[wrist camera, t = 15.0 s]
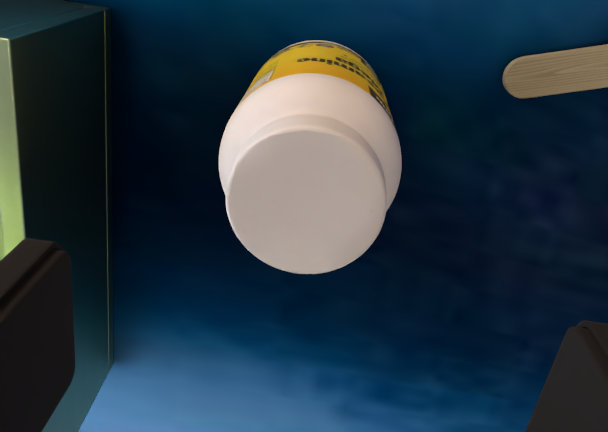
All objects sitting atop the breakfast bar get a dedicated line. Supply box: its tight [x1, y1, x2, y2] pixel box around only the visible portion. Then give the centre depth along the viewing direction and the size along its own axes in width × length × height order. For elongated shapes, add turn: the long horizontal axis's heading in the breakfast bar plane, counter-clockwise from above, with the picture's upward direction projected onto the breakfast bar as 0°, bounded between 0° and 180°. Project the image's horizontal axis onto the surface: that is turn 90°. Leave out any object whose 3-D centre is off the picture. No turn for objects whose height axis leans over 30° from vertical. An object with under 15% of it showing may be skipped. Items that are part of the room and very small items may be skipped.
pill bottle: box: [219, 40, 402, 274], centre depth 22 cm, size 6×6×11 cm
